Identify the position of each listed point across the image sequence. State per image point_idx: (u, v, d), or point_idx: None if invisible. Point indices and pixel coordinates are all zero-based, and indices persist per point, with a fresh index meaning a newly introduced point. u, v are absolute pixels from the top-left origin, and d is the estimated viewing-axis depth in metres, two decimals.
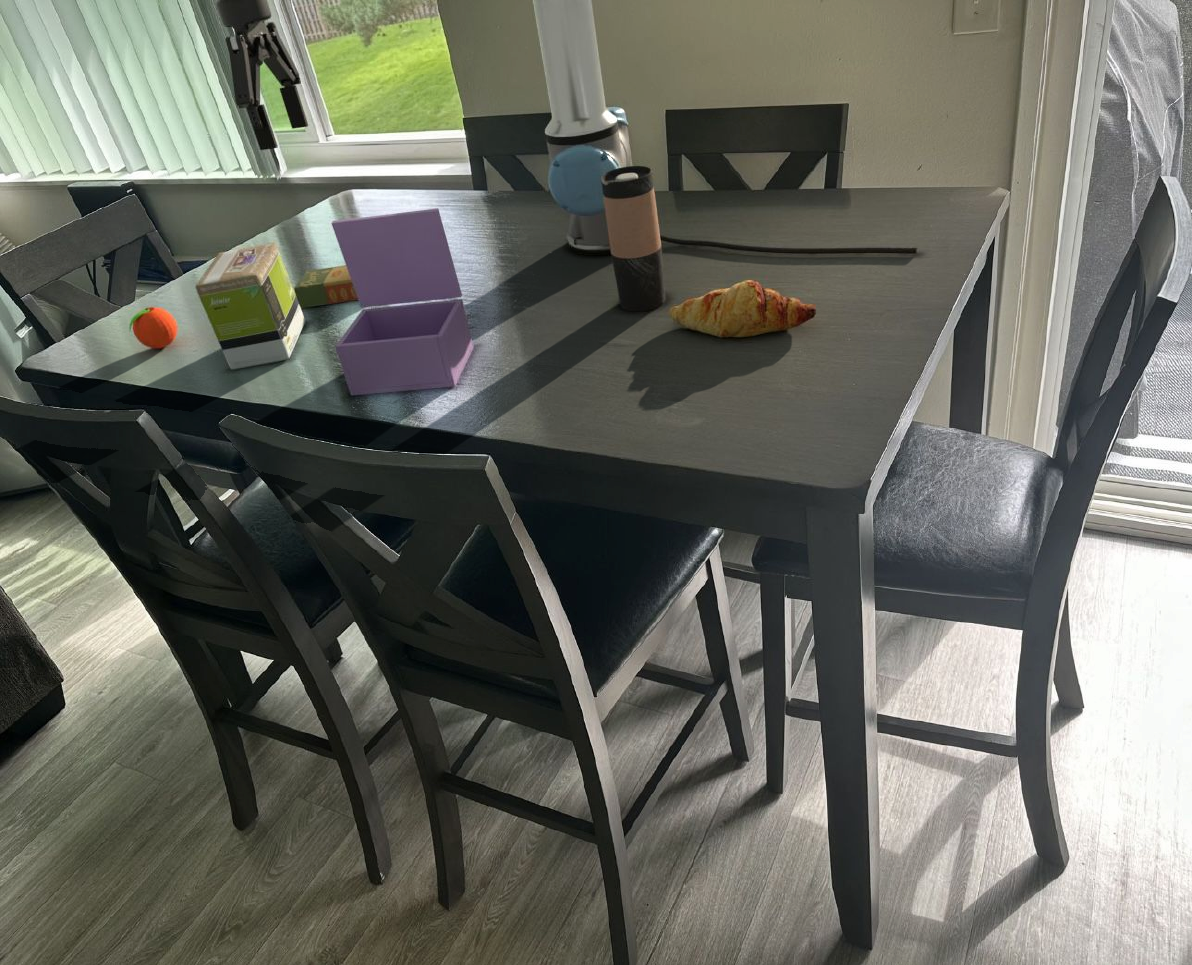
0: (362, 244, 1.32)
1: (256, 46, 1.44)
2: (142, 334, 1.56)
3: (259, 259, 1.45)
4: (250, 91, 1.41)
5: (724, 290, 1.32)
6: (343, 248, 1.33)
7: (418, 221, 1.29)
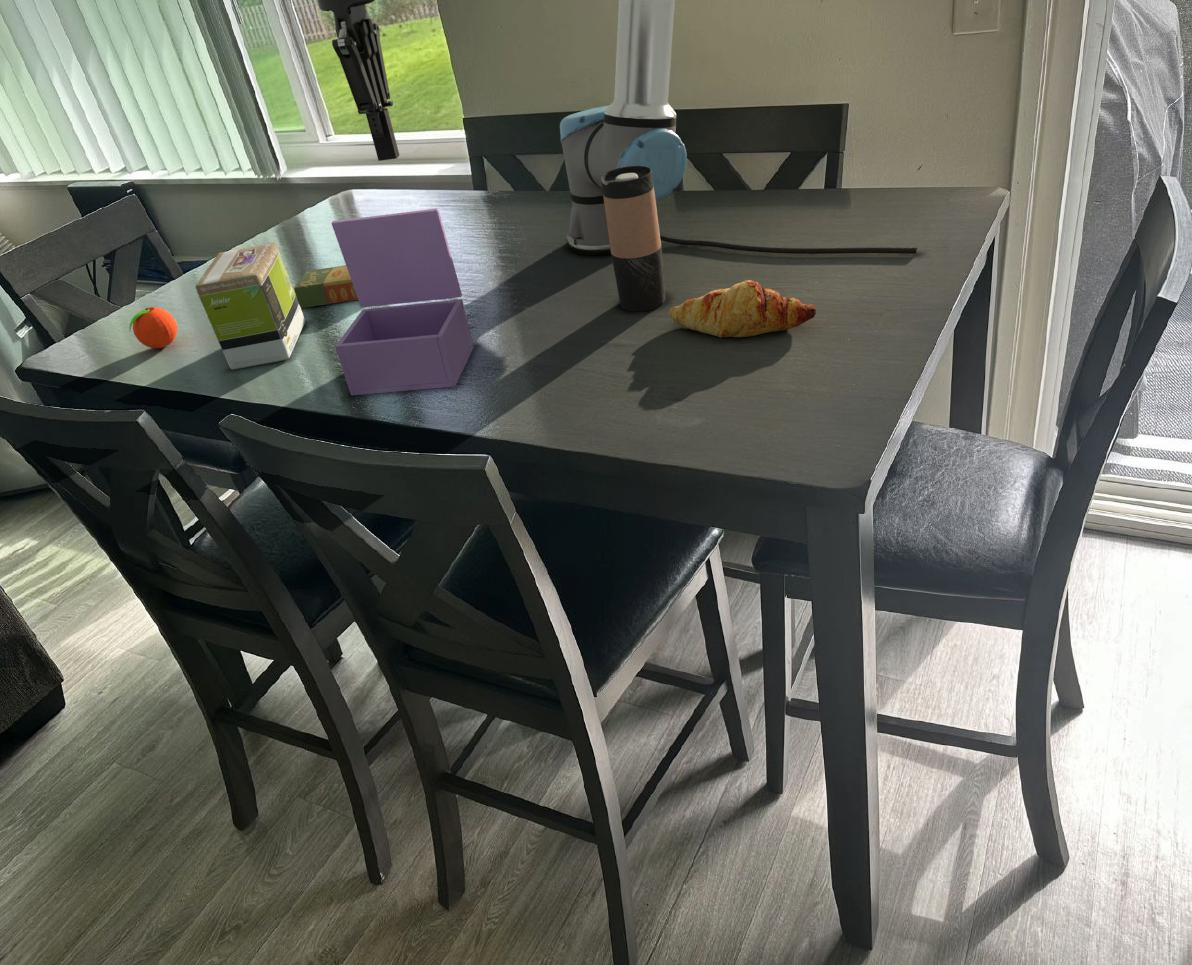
0: (362, 244, 1.32)
1: (361, 39, 1.23)
2: (142, 334, 1.56)
3: (259, 259, 1.45)
4: (372, 97, 1.25)
5: (724, 290, 1.32)
6: (343, 248, 1.33)
7: (418, 221, 1.29)
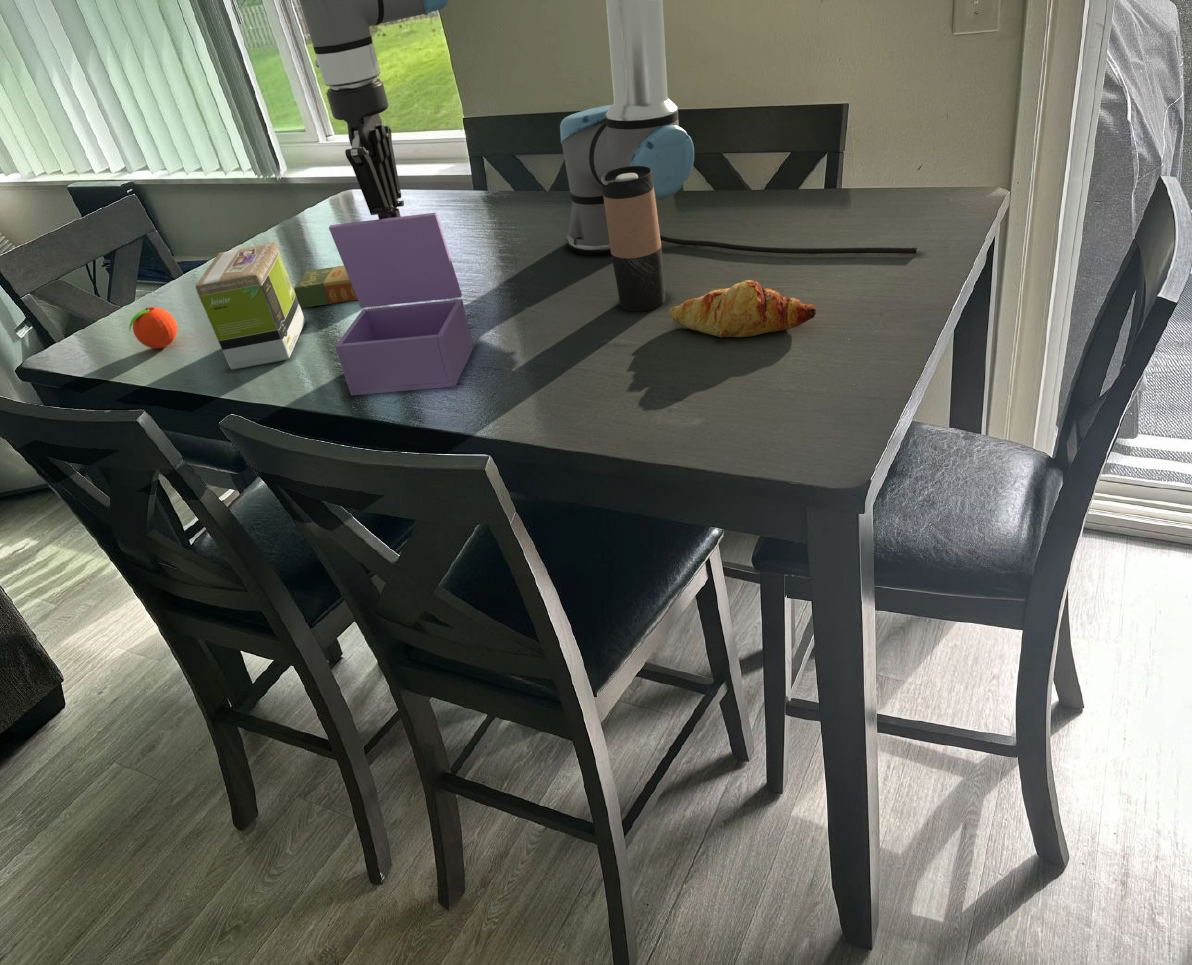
0: (360, 248, 1.32)
1: (374, 146, 1.25)
2: (142, 334, 1.56)
3: (259, 259, 1.45)
4: (384, 201, 1.27)
5: (724, 290, 1.32)
6: (341, 251, 1.32)
7: (416, 225, 1.29)
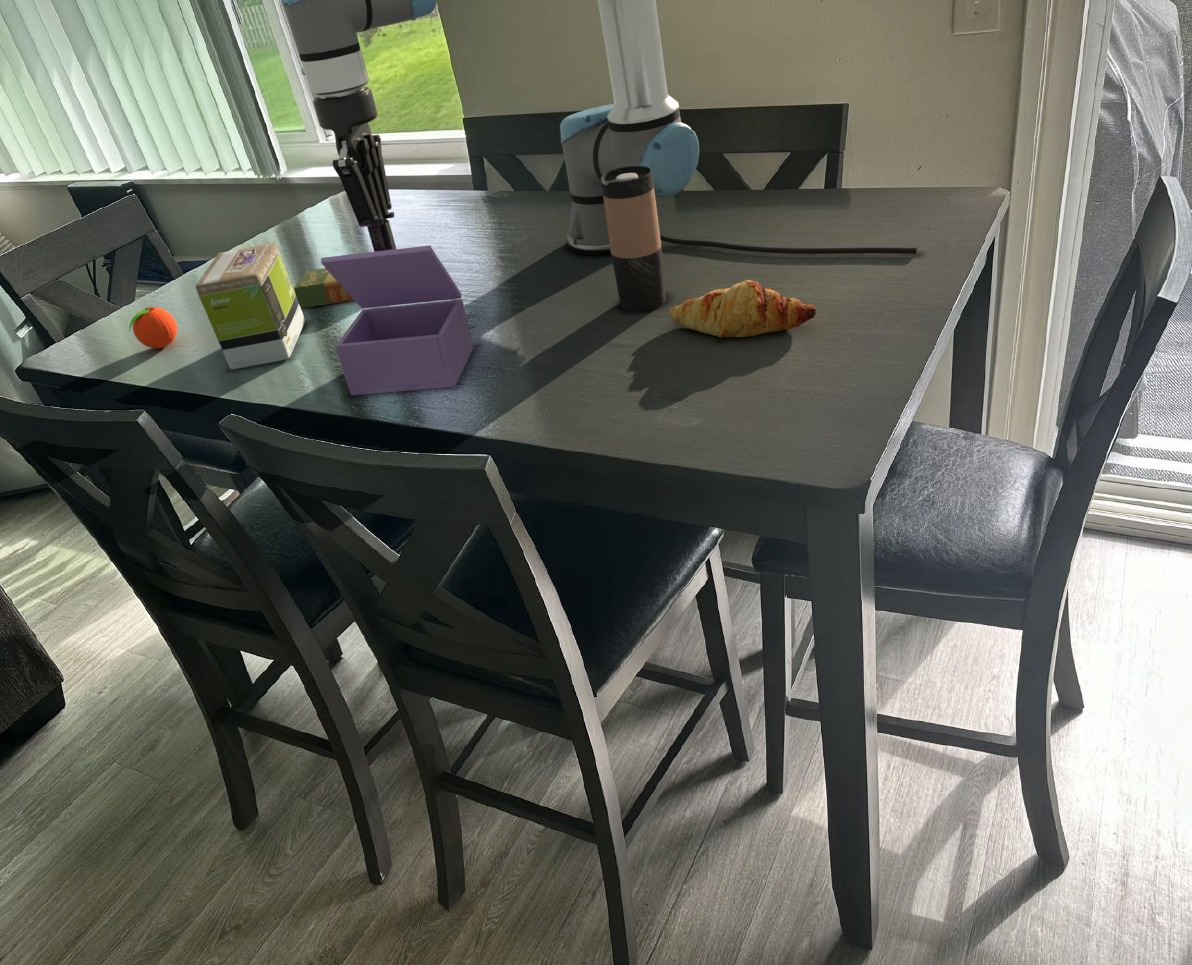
0: (355, 273, 1.29)
1: (362, 156, 1.21)
2: (142, 334, 1.56)
3: (259, 259, 1.45)
4: (373, 213, 1.23)
5: (724, 290, 1.32)
6: (336, 276, 1.30)
7: (411, 257, 1.26)
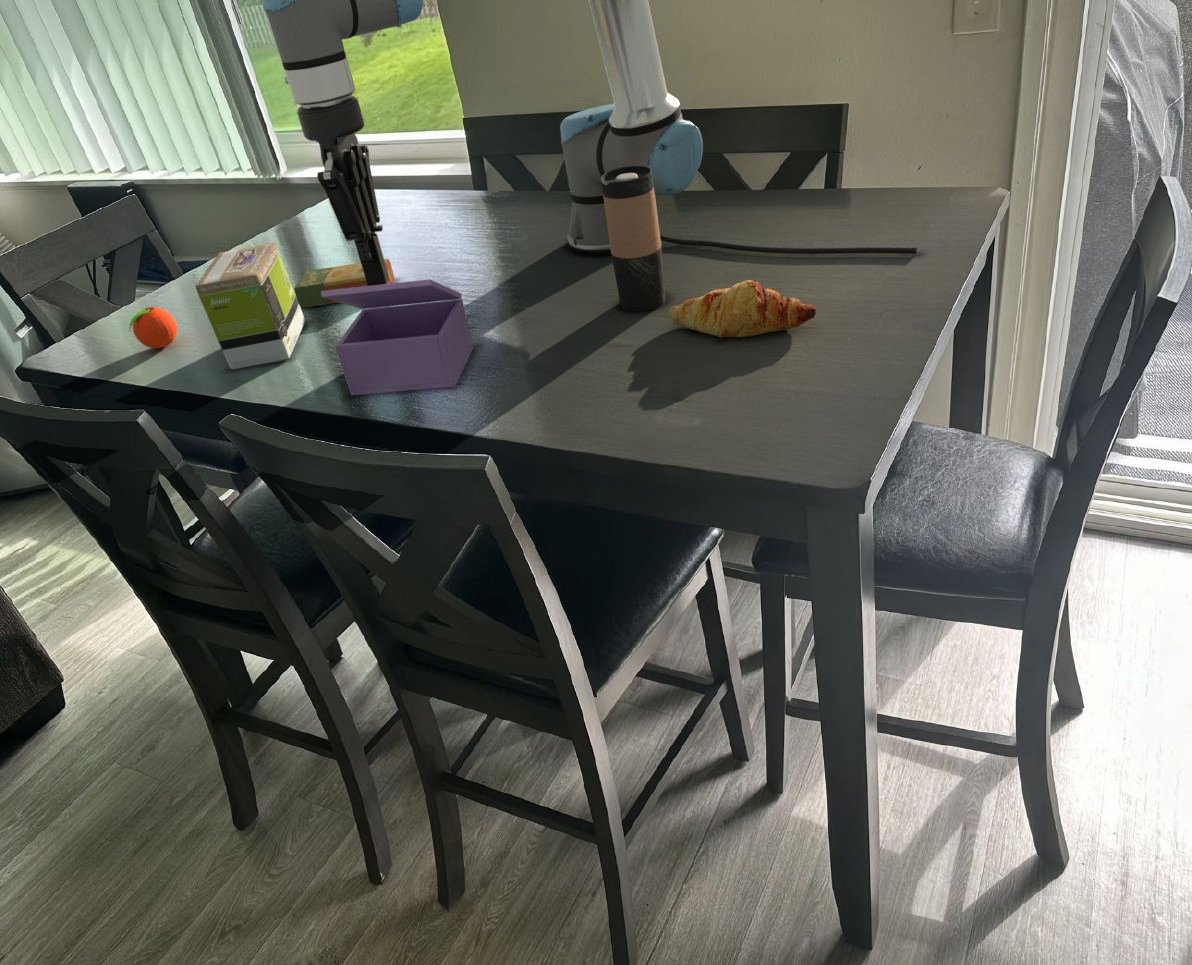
0: (356, 298, 1.29)
1: (349, 168, 1.16)
2: (142, 334, 1.56)
3: (259, 259, 1.45)
4: (360, 227, 1.19)
5: (724, 290, 1.32)
6: (336, 300, 1.30)
7: (412, 289, 1.25)
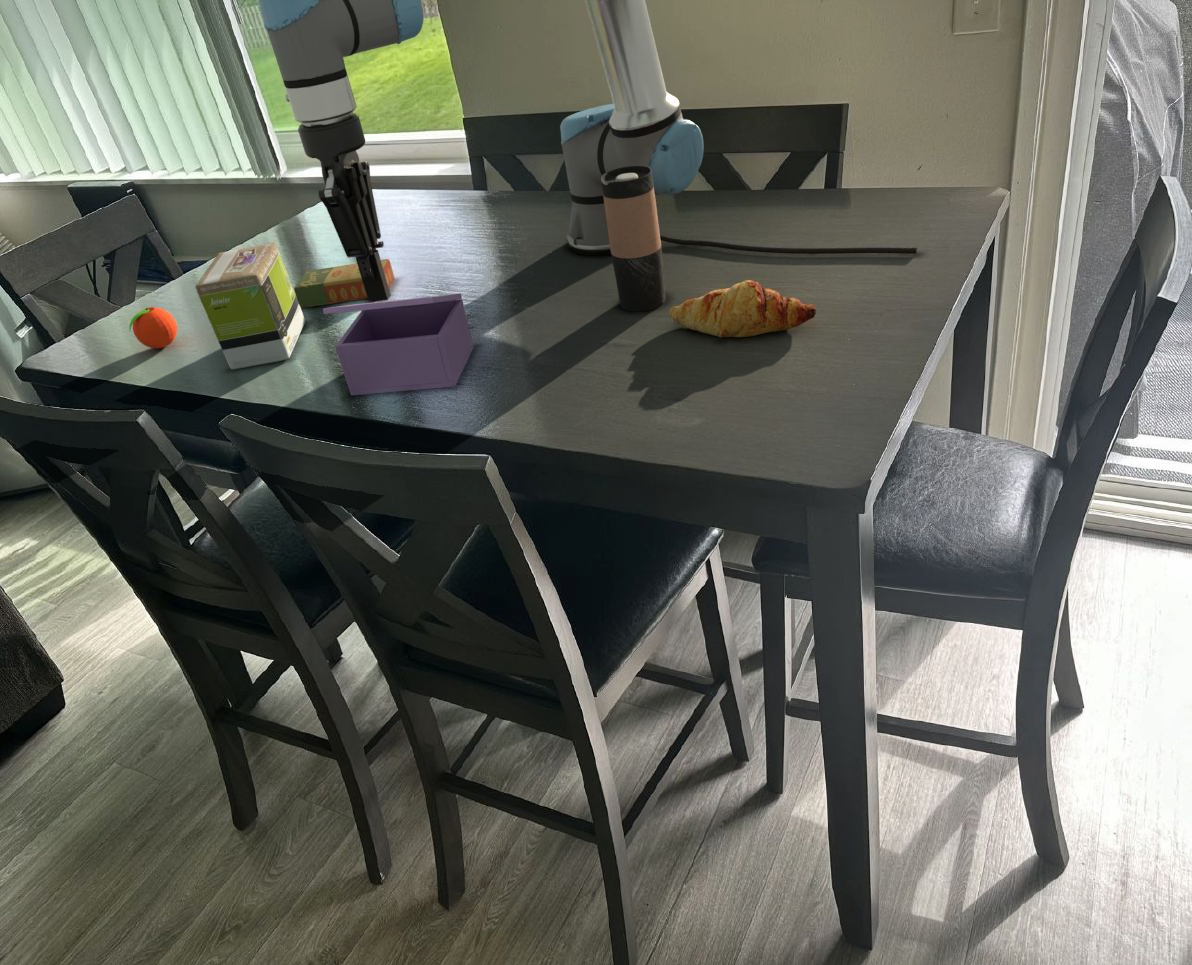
0: None
1: (350, 185, 1.16)
2: (142, 334, 1.56)
3: (259, 259, 1.45)
4: (361, 244, 1.18)
5: (724, 290, 1.32)
6: None
7: None
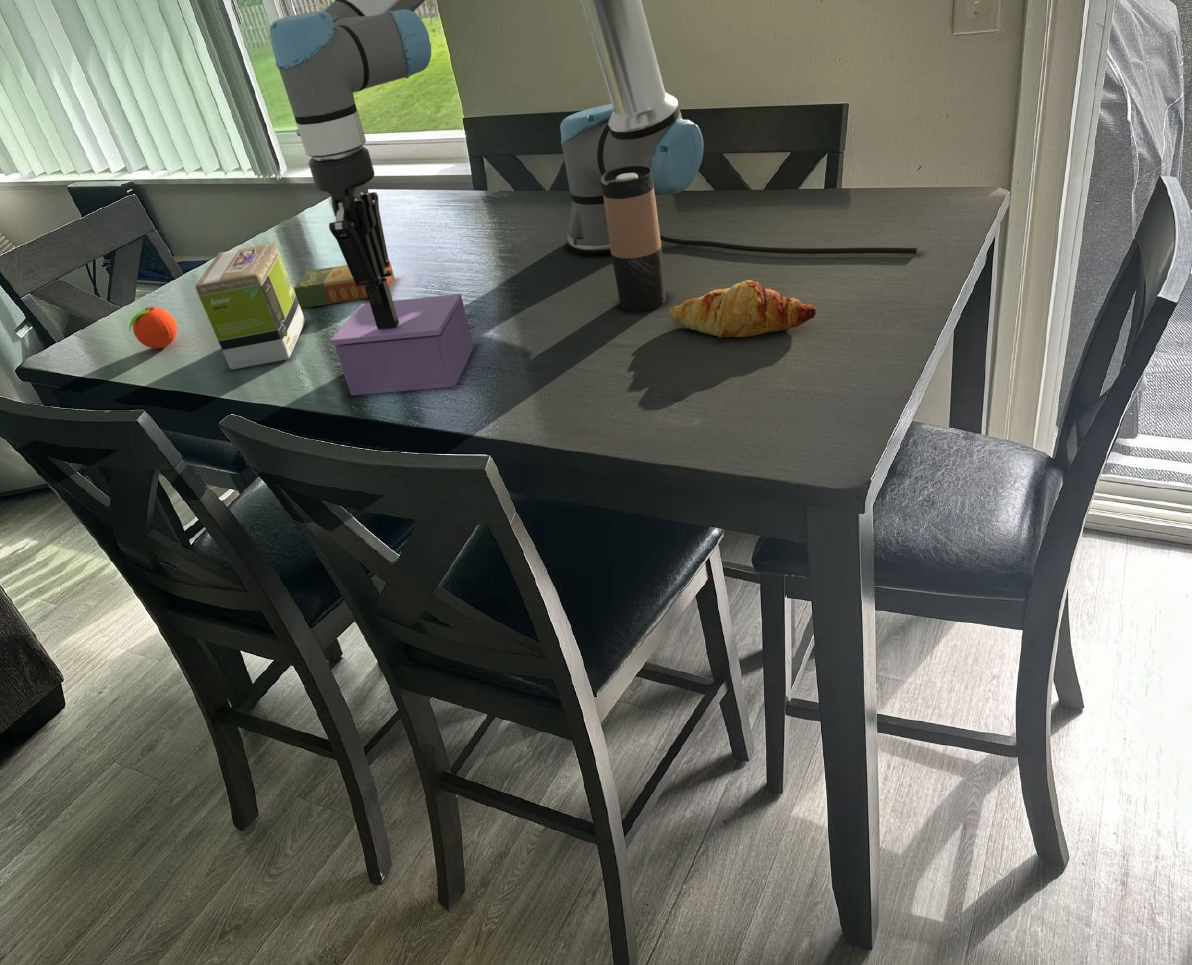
0: None
1: (360, 217, 1.18)
2: (142, 334, 1.56)
3: (259, 259, 1.45)
4: (370, 274, 1.21)
5: (724, 290, 1.32)
6: None
7: None
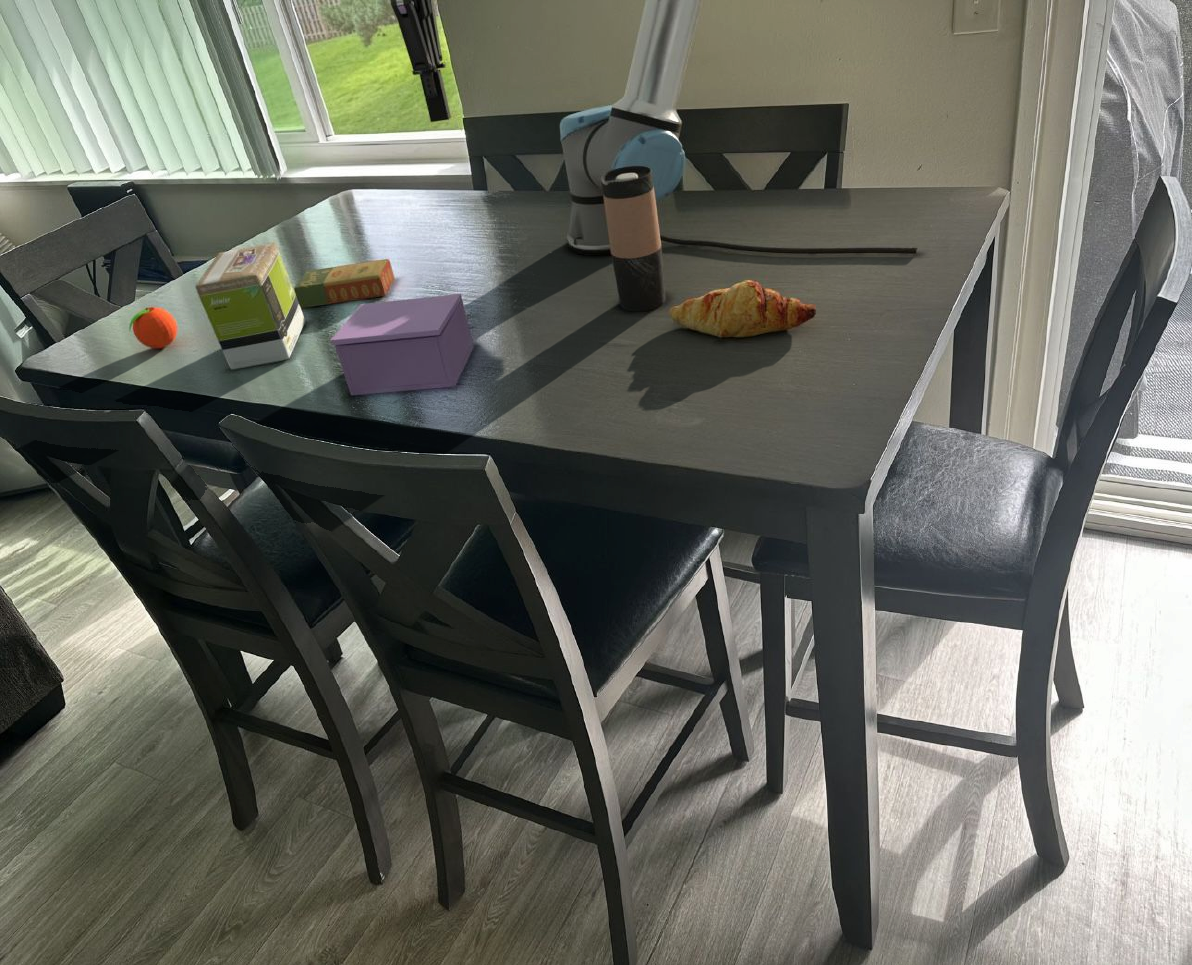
0: None
1: None
2: (142, 334, 1.56)
3: (259, 259, 1.45)
4: (427, 57, 1.27)
5: (724, 290, 1.32)
6: None
7: None
